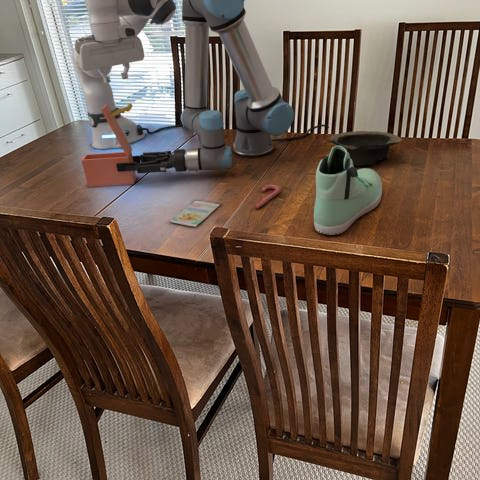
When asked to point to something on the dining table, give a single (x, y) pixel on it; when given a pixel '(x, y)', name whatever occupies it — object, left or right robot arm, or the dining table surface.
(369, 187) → the sneaker
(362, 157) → the dark brown hat
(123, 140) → the block with yellow handle
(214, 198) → the dining table surface
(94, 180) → the open box
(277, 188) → the candy cane
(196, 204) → the baking ingredient package
